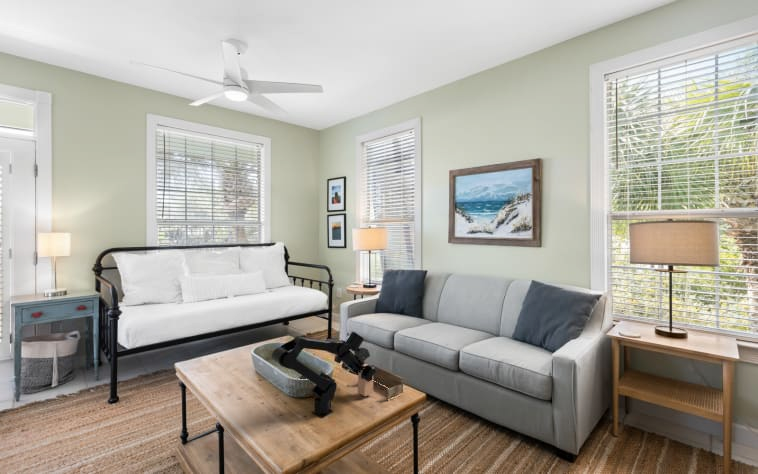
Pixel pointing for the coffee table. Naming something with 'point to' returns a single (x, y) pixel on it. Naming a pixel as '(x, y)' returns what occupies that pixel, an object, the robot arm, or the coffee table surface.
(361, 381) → the terracotta block
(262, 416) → the coffee table surface
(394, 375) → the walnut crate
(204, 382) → the coffee table surface
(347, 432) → the coffee table surface
